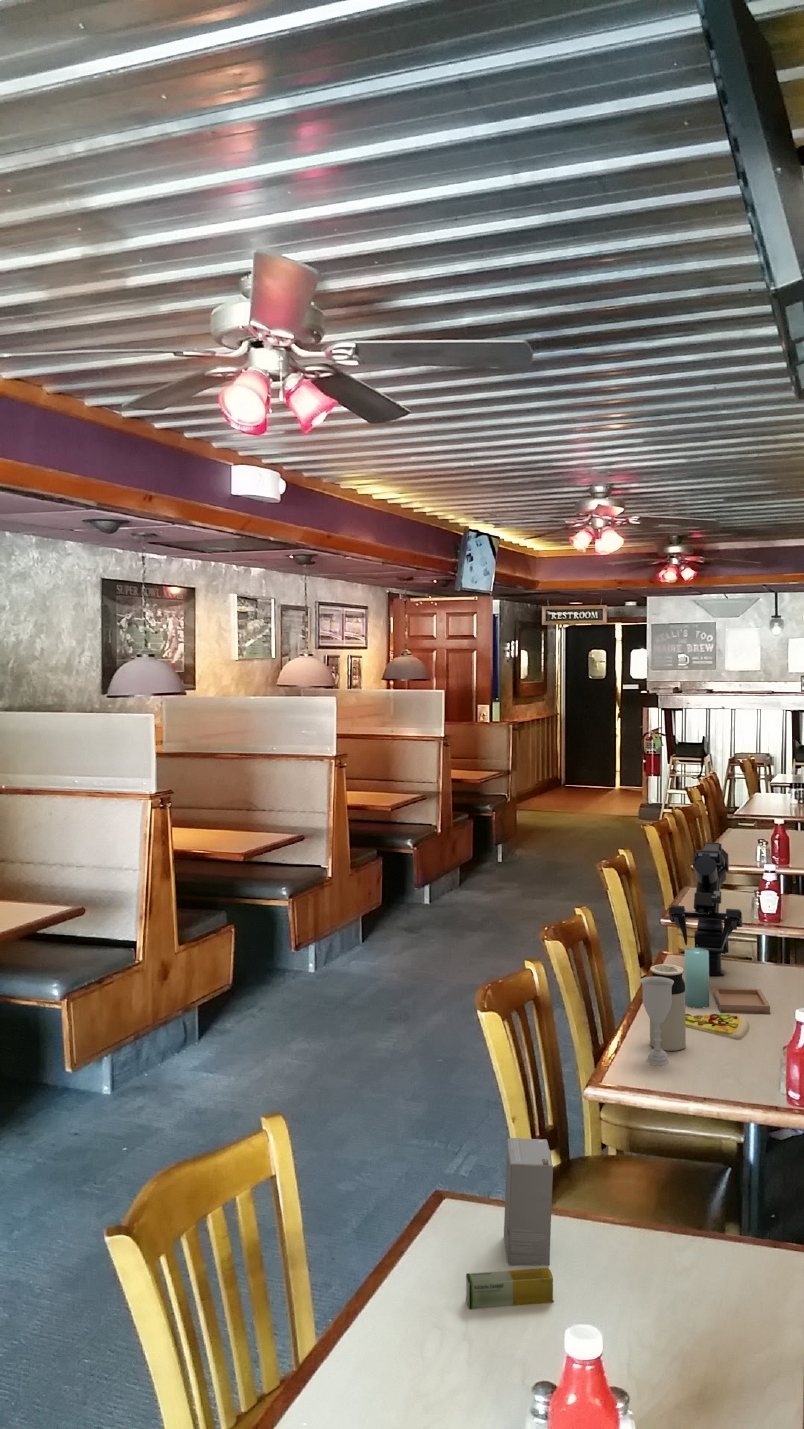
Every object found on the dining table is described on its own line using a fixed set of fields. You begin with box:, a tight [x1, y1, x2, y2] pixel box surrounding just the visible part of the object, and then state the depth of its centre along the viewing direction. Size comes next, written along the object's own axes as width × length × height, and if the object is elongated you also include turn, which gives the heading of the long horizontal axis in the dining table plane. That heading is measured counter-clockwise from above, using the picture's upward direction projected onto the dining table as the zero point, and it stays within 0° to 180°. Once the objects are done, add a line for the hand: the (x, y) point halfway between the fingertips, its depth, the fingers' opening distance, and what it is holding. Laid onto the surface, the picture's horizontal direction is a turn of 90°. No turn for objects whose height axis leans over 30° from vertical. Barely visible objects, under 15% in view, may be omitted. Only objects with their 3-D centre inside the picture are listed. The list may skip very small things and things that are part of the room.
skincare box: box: [503, 1137, 554, 1266], centre depth 158 cm, size 8×7×16 cm
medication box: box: [465, 1267, 555, 1310], centre depth 146 cm, size 12×3×4 cm, turn 96°
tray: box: [712, 987, 771, 1015], centre depth 270 cm, size 14×12×2 cm
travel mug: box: [649, 963, 687, 1052], centre depth 242 cm, size 8×8×18 cm
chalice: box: [639, 976, 674, 1066], centre depth 233 cm, size 7×7×18 cm
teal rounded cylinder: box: [684, 947, 710, 1009], centre depth 271 cm, size 6×6×14 cm
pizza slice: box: [685, 1013, 750, 1041], centre depth 255 cm, size 16×21×3 cm
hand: (703, 945), depth 278 cm, fingers open, 9 cm apart
